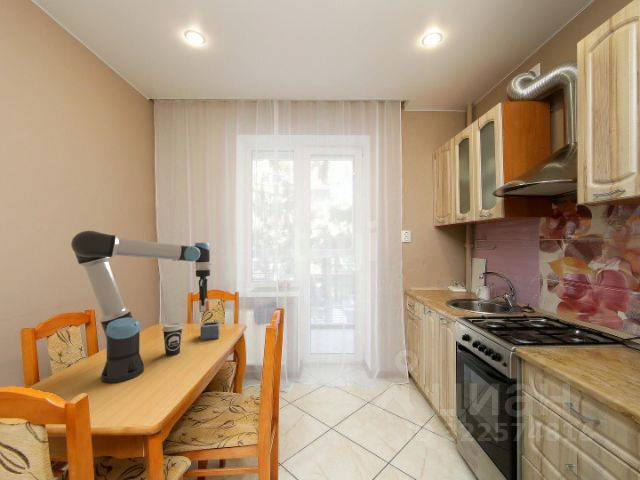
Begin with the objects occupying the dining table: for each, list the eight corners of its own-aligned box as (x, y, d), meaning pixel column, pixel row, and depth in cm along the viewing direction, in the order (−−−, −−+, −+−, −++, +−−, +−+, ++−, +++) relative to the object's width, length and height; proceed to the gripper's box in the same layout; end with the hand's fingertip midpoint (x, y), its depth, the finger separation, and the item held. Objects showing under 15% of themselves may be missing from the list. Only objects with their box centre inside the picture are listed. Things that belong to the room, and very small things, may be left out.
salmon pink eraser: (208, 311, 151) (208, 300, 151) (199, 312, 150) (199, 301, 150) (209, 310, 154) (209, 299, 154) (200, 311, 152) (199, 300, 152)
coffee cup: (186, 350, 143) (186, 322, 143) (175, 357, 133) (175, 327, 133) (170, 349, 144) (170, 321, 144) (157, 357, 134) (157, 327, 134)
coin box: (218, 338, 160) (218, 325, 160) (200, 340, 157) (200, 327, 157) (219, 333, 169) (219, 320, 169) (203, 335, 166) (203, 322, 167)
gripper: (207, 270, 145) (208, 313, 145) (211, 267, 160) (212, 306, 160) (192, 271, 143) (193, 314, 143) (198, 268, 158) (199, 307, 158)
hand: (203, 310), depth 152 cm, fingers closed on salmon pink eraser, 2 cm apart
